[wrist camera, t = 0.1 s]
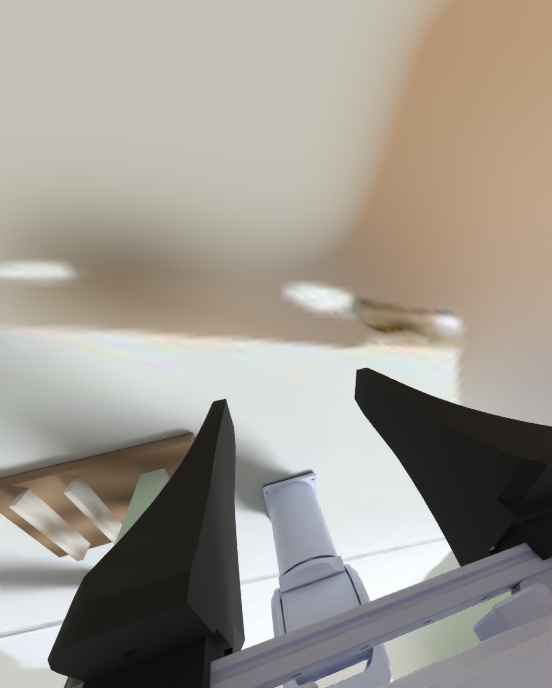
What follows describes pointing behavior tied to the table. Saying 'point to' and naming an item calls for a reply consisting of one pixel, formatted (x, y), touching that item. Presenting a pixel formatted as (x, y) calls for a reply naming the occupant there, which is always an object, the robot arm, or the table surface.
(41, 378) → the table surface
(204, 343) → the table surface
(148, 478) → the door panel
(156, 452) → the track base
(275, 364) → the table surface
